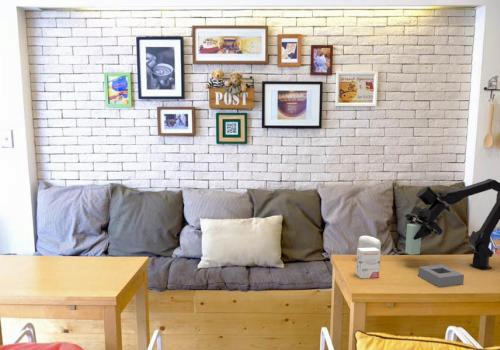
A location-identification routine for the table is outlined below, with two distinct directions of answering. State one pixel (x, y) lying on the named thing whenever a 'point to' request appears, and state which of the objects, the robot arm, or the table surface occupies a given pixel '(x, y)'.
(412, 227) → the pale green block
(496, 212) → the robot arm
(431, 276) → the grey square socket block
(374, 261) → the ink box
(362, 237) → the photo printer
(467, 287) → the table surface
